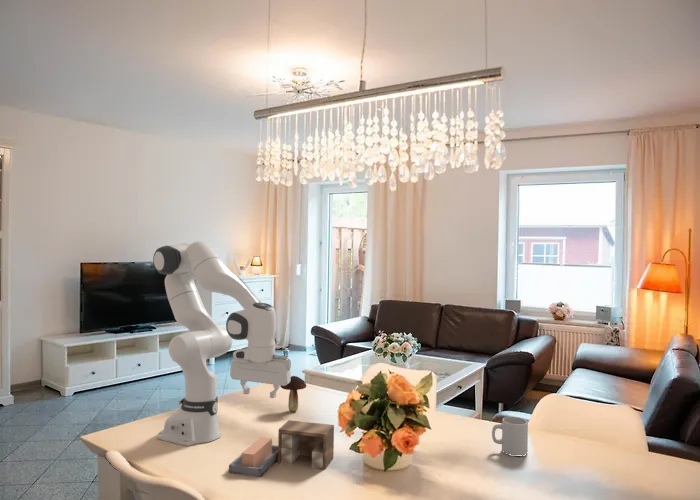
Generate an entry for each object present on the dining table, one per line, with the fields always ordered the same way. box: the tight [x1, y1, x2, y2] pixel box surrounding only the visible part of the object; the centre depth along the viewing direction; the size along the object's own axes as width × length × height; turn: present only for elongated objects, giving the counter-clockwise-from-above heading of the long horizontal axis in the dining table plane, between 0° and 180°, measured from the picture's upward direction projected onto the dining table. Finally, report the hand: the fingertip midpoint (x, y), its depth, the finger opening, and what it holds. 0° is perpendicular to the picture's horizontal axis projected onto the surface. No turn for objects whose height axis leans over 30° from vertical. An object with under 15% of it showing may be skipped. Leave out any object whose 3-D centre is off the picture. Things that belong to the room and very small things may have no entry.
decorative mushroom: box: [279, 375, 307, 413], centre depth 218 cm, size 11×11×15 cm
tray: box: [228, 444, 278, 478], centre depth 165 cm, size 11×19×2 cm, turn 166°
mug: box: [491, 416, 529, 455], centre depth 178 cm, size 12×8×11 cm
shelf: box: [277, 419, 335, 470], centre depth 168 cm, size 16×9×11 cm, turn 76°
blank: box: [241, 436, 273, 467], centre depth 165 cm, size 4×14×5 cm, turn 165°
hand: (259, 395), depth 167 cm, fingers open, 8 cm apart
